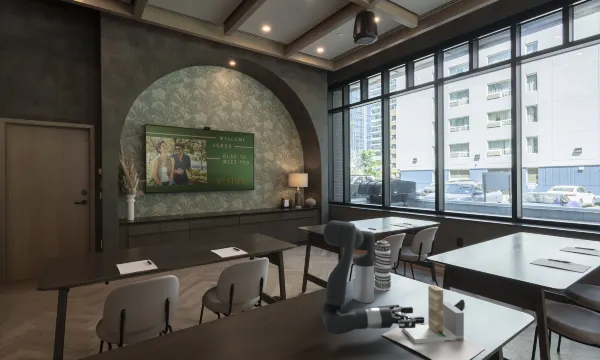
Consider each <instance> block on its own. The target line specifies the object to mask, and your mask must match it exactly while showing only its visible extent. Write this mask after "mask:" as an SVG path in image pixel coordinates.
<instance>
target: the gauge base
mask: <svg viewBox="0 0 600 360" xmlns="http://www.w3.org/2000/svg"><path fill="white" fill-rule="evenodd" d="M464 315H465V313H464V311H463V310H459V309H458V308H456V307H455V306H454V305H453V304H452V303H450V302H449V301H443V334H444V335H445V337H444V336H443V335H442V334H440V333H435V332H434V331H433V330H431V329H430V328H429V323H427V324H415V328H401V329H402V330H401V331H403V332H404V334H405V335H406V334H407V335H408V336H409V337H410V338H409V337H408V336H407V335H406V336H407V337H408V338H409V339H410V340H411V341H412V342H413V344H424V343H437V342H439V341H440V342H446V341H445V340H451V339H464V337H465V336H464V335H465V333H464V331H465V327H464V326H465V321H464V319H465V316H464Z"/></svg>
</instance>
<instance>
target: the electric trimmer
mask: <svg viewBox="0 0 600 360" xmlns="http://www.w3.org/2000/svg"><path fill="white" fill-rule="evenodd" d="M465 305H466V302H465V300H464V299H460V300H459V301H458V302H456V303H455V304H454V305H453V306H455V307H456V308H458V309H459V310H461V311H463V310H464V308H465Z"/></svg>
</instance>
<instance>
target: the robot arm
mask: <svg viewBox="0 0 600 360" xmlns="http://www.w3.org/2000/svg"><path fill="white" fill-rule="evenodd" d="M323 238H324V241H325V242H326V243H327V244H328V245H330V246H333V247H334V246H336V247H341V248H343V252H342V253H343V254H342V256H341V258H340V260H339V261H338V263H337V264H336V265H335V267H334V268H333V269H332V271H331V272H330V274H329V276H328V277H327V281H326V290H325V291H326V292H325V301H324V303H323V306H322V314H321V318H322V322H323V324H324V326H325V329H326V331H327V332H328V333H330V334H332V335H343V334H347V333H350V332H352V331H355V330H367V329H368V330H378V329H379V330H380V329H390V328H392V326H393V325H394V324H395V325H398V328H399V329H402V328H415V325H422V324H424V323H425V317H424V316H409V315H408V314H413V313H414V308H413V307H412V306H405V307H403V306H400V305H399V304H391V305H389V304H388V305H382V306H380V305H379V306H378V305H377V306H368V307H363V308H352V309H349V310H348V312H346V313H342V312H341V310H342V306H343V305H344V304H345V301H346V294H347V293H346V292H347V283H348V277H349V272H350V267H351V262H352V258H353V252H354V250H357V251H365V252H366V253H364V254H362V255H359V256H356V257H355V258H354V278H353V279H352V287H353V288H352V294H353V295H352V298H353V300H355V301H357V302H360V303H361V304H362V303H363V304H369V303H373V302H374V301H375V282H374V281H375V265H374V263H375V261H374V259H375V258H374V256H375V255H374V252H375V243H376V241H375V239H376V238H375V233H374V232H373V231H370V230H369V231H367V230H360V228H359V227H358V228H357V227H356V225H355V224H354V223H353V222H348V221H341V220H334V219H332V220H330V221H328V222H327V223H326V224H325V226H324V228H323Z"/></svg>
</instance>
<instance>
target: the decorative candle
mask: <svg viewBox="0 0 600 360" xmlns="http://www.w3.org/2000/svg"><path fill="white" fill-rule="evenodd" d="M390 248H391V244H390V242H389V241H387V240H381V239H380V240H377V241H375V244H374V290H378V291H381V290H382V291H385V292H386V290H388V291H390V290H392V288H391V287H392V281H391V280H392V278H391V277H392V275H391V267H392V260H391V259H392V253H391V249H390Z"/></svg>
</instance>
